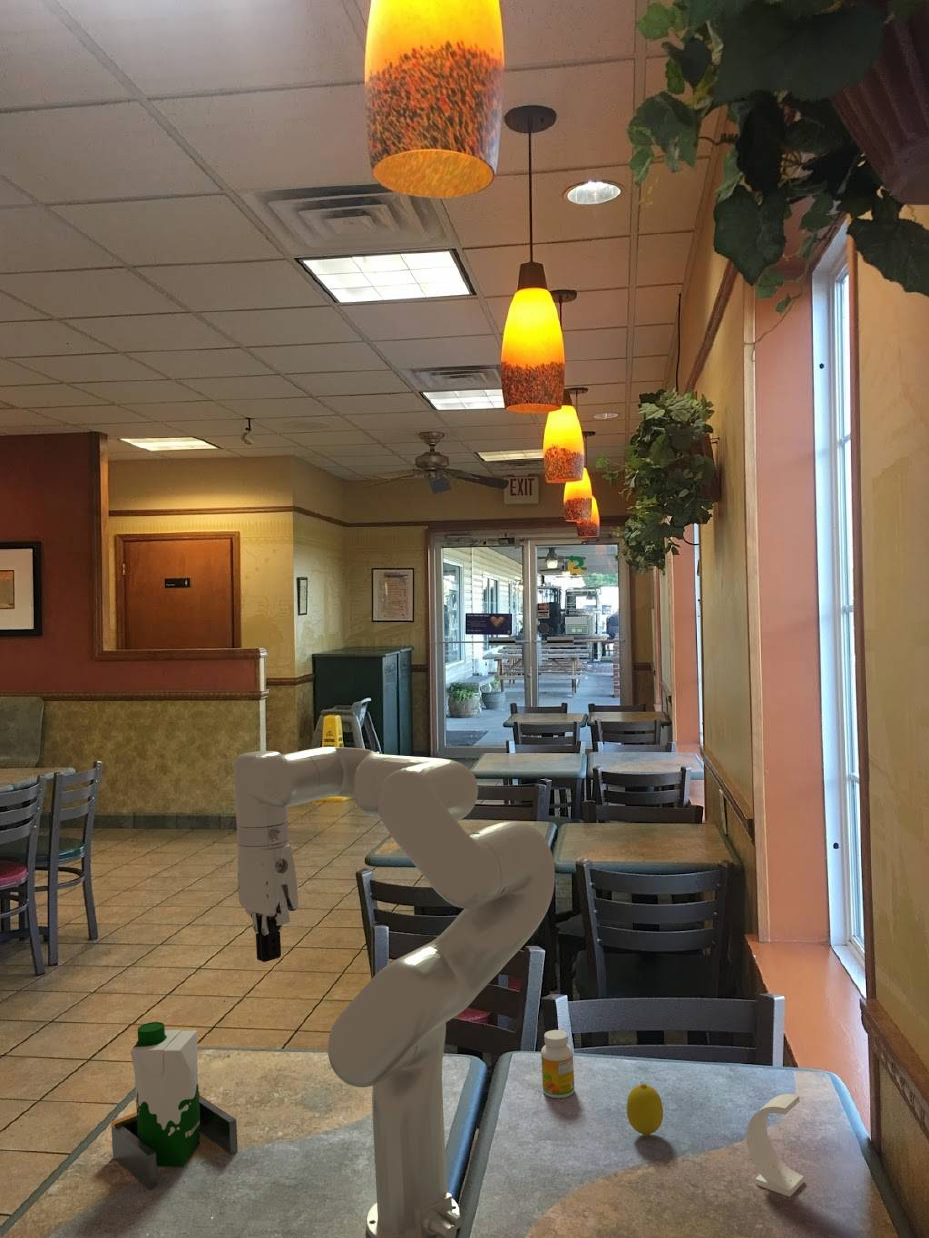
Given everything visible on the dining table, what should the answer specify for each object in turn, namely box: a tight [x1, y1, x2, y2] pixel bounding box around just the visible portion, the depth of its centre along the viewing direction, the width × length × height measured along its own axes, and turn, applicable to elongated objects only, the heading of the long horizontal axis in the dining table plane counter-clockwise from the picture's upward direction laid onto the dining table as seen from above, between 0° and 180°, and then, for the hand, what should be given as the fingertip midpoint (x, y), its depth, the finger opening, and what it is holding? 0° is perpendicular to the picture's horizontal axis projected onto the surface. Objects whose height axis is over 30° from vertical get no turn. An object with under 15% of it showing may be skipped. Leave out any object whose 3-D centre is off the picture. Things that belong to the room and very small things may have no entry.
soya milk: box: [130, 1021, 201, 1168], centre depth 154 cm, size 9×9×20 cm
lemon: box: [626, 1083, 664, 1138], centre depth 152 cm, size 6×6×8 cm
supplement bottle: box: [540, 1029, 575, 1099], centre depth 169 cm, size 5×5×10 cm
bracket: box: [110, 1091, 239, 1191], centre depth 154 cm, size 13×14×6 cm
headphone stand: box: [746, 1093, 805, 1198], centre depth 138 cm, size 5×6×12 cm
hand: (269, 958), depth 147 cm, fingers closed
